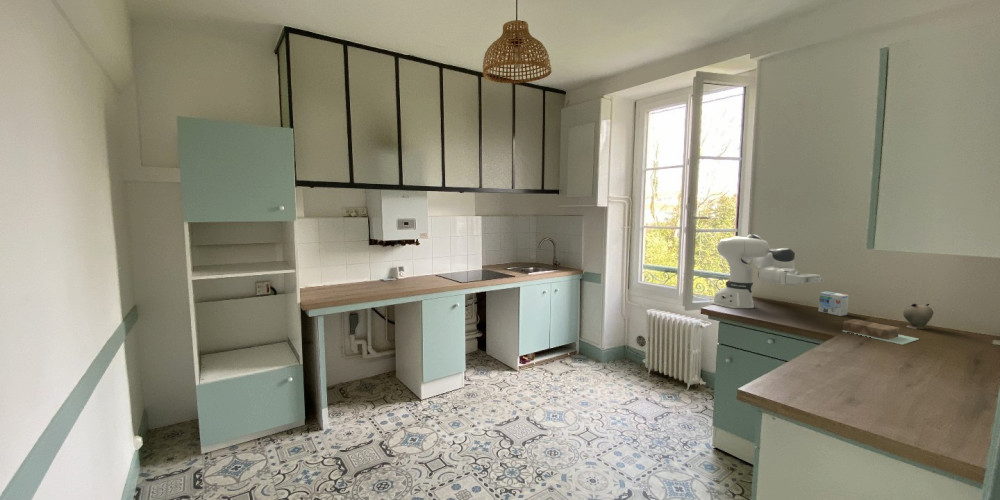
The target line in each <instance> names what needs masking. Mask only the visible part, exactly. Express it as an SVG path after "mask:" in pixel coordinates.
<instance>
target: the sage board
mask: <svg viewBox="0 0 1000 500" xmlns="http://www.w3.org/2000/svg"><path fill="white" fill-rule="evenodd" d="M841 332H842V333H847V332H849V331H845V330H843V329H842V330H841ZM853 333H854V332H853ZM856 334H858V335H857V336H860V335H862V337H865V336H867V337H866V338H869V337H871V338H870V339H873V340H874V339H875V340H879V341H883V342H887V343H893V344H897V345H901V346H902V345H903V346H904V345H906V344H910V343H912V342H915V341H919V340H920V338H917V337H914V336H908V335H903V334H898V337H895V338H892V339H889V340H886V339H882V338H877V337H872V336H868V335H863V334H859V333H854V334H853V335H856Z"/></svg>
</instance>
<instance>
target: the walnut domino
mask: <svg viewBox="0 0 1000 500" xmlns="http://www.w3.org/2000/svg"><path fill="white" fill-rule="evenodd" d="M842 322H843V323H842V331H843V330H845V331H849V332H854V333H859V334H863V335H868V336H872V337H877V338H882V339H886V340H889V339H892V338H895V337H898V334H899V332H900V327H898V326H892V325H888V324H882V323H877V322H872V321H867V320H862V319H858V318H857V319H856V318H853V319H848V320H843V321H842ZM899 335H900V334H899Z"/></svg>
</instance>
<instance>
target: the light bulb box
mask: <svg viewBox="0 0 1000 500" xmlns="http://www.w3.org/2000/svg"><path fill="white" fill-rule="evenodd" d="M849 299H850V295H849V294H845V293H840V292H839V293H838V292H832V291H821V292H820V293H819V302H818V309H817V310H818V312H820V313H825V314H829V315H834V316H839V317H842V316H847V315H848V310H849V309H848V308H849V301H850V300H849Z"/></svg>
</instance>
